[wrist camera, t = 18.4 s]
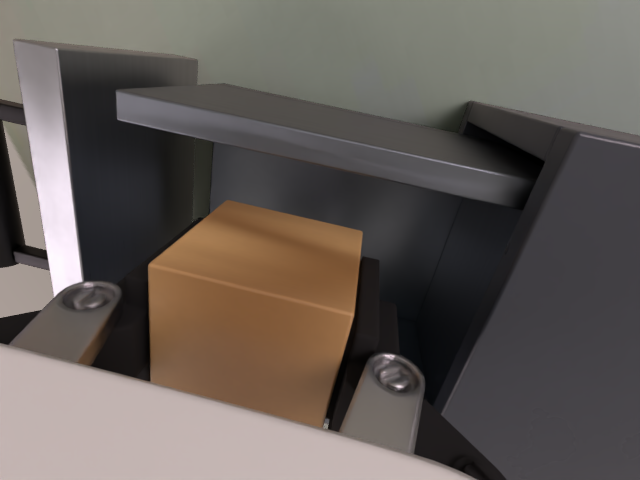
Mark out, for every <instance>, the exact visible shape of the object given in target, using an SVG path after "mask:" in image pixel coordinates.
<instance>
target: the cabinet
mask: <svg viewBox="0 0 640 480" xmlns="http://www.w3.org/2000/svg"><path fill="white" fill-rule="evenodd" d="M458 133H459V134H464V135H468V136H473V137H478V138H482V139H487V140H492V141H497V142H499V143H500V144H502V145H504V146H506V147H507V148H509V149H511V150H513V151H514V152H516V153H518V154H520V155H522V156H523V157H525V158H527V159H529V160H530V161H532V162H534V163H536V164H538V165H539V166H541V167H543V168H542V170H541V172H540V174H539V177H538V179H537V181H536V183H535V185H534V187H533V190H532V192H531V194H530V196H529V198H528V200H527V203H526V205H525V207H524V209H523V211H522V214H521V216H520V218H519V220H518V222H517V224H516V227H515V229H514V231H513V233H512V235H511V237H510V240H509V242H508V244H507V246H506V248H505V250H504V253H503V255H502V257H501V259H500V261H499V264H498V266H497V268H496V270H495V272H494V274H493V277H492V279H491V281H490V283H489V285H488V287H487V290H486V292H485V294H484V296H483V298H482V300H481V303H480V305H479V307H478V309H477V311H476V314H475V316H474V318H473V320H472V322H471V324H470V327H469V329H468V331H467V333H466V335H465V337H464V340H463V342H462V344H461V346H460V348H459V350H458V353H457V355H456V357H455V359H454V361H453V364H452V366H451V368H450V370H449V372H448V374H447V377H446V379H445V381H444V383H443V385H442V387H441V390H440V392H439V394H438V396H437V398H436V400H435V403H434V405H433V407H434V408H435V409H436V410H437V411H438V412H439V413H440V414H441V415H442V416H443V417H444V418H445V419H446V420H447V421H448V422H449V423H450V424H451V425H452V426H453V427H454V428H456V429H457V430H458V431H459V432H460V433H461V434H462V435H463V436H464V437H465V438H466V439H467V440H468V441H469V442H470V443H471V444H472V445H473V446H474V447H475V448H476V449H477V450H478V451H480V452H481V453H482V454H483V455H484V456H485V457H486V458H487V459H488V460H489V461H490V462H491V463H492V464H493V465H494V466H495V467H496V468H497V469H498V470H499V471H500V472H501V473H502V475H503V476H504V477H505V478H506V480H640V136H638V135H633V134H628V133H624V132H619V131H614V130H609V129H604V128H600V127H595V126H590V125H585V124H580V123H575V122H571V121H566V120H561V119H556V118H551V117H547V116H542V115H537V114H532V113H527V112H523V111H518V110H513V109H508V108H503V107H499V106H494V105H489V104H484V103H479V102H475V101H469V102H468V105H467V108H466V111H465V114H464V117H463V120H462V123H461V126H460V129H459V132H458Z"/></svg>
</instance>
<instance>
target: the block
mask: <svg viewBox="0 0 640 480" xmlns="http://www.w3.org/2000/svg"><path fill="white" fill-rule="evenodd" d="M362 237H363V232H362V231H360V230H356V229H351V228H347V227H343V226H338V225H334V224H330V223H326V222H321V221H317V220H313V219H308V218H304V217H300V216H295V215H291V214H287V213H282V212H278V211H274V210H269V209H265V208H261V207H257V206H252V205H248V204H244V203H239V202H235V201H231V200H226V201H225V202H224V203H222V204H221V205H220V206H219V207H218V208H216V209H215V210H214V211H213V212H211V213H210V214H209V215H208V216H207V217H205V218H204V219H203V220H202V221H200V222H199V223H198V224H197V225H195V226H194V227H193V228H192V229H191V230H189V231H188V232H187V233H186V234H184V235H183V236H182V237H181V238H180V239H178V240H177V241H176V242H175V243H173V244H172V245H171V246H170V247H168V248H167V249H166V250H165V251H164V252H162V253H161V254H160V255H159V256H157V257H156V258H155V259H154V260H153V261H151V262H150V263H149V265H148V295H149V339H150V382H153V383H156V384H160V385H164V386H168V387H172V388H175V389H179V390H183V391H187V392H191V393H194V394H198V395H202V396H206V397H209V398H213V399H217V400H221V401H224V402H228V403H232V404H236V405H239V406H243V407H247V408H251V409H254V410H258V411H262V412H265V413H269V414H273V415H276V416H280V417H284V418H287V419H291V420H295V421H299V422H302V423H306V424H310V425H313V426H317V427H321V428H323V425H324V421H325V418H326V414H327V411H328V407H329V404H330V400H331V397H332V393H333V389H334V386H335V382H336V379H337V375H338V372H339V368H340V365H341V361H342V357H343V354H344V350H345V347H346V343H347V340H348V336H349V333H350V329H351V325H352V322H353V318H354V313H355V304H356V294H357V284H358V275H359V265H360V256H361V246H362Z"/></svg>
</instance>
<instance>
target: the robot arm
mask: <svg viewBox="0 0 640 480" xmlns="http://www.w3.org/2000/svg"><path fill="white" fill-rule="evenodd" d="M202 220H203V218H198V219H197V220H196V221H194V222H193V223H192V224H191V225H189V226H188V227H187V228H186V229H184V230H183V231H182V232H180V233H179V234H178V235H177V236H175V237H174V238H173V239H172V240H170V241H169V242H168V243H167V244H165V245H164V246H163V247H161V248H160V249H159V250H158V251H156V252H155V253H154V254H153V255H151V256H150V257H149V258H148V259H146V260H145V261H144V262H142V263H141V264H140V265H139V266H137V267H136V268H135V269H134V270H132V271H131V272H130V273H128V274H127V275H126V276H125V277H124V278H123V279H122V280H121V281H119V282H118V283H117V284H114V283H112V282H108V281H103V280H90V281H83V282H79V283H75V284H72V285H70V286H68V287H66V288H64V289H63V290H62V291H60V292H59V293H58V294H57V295H56V296H55V297H54V298H53V299H52V300H51V301H50V302H49V303H48V304H47V305H46V306H45V307H44V308H43V309H42V310H40V311H34V312H29V313H24V314H19V315H14V316H8V317H3V318H0V480H506V478H505V477H504V476H503V475H502V473H501V472H500V471H499V470H498V469H497V468H496V467H495V466H494V465H493V464H492V463H491V462H490V461H489V460H488V459H487V458H486V457H485V456H484V455H483V454H482V453H481V452H480V451H478V450H477V449H476V448H475V447H474V446H473V445H472V444H471V443H470V442H469V441H468V440H467V439H466V438H465V437H464V436H463V435H462V434H461V433H460V432H459V431H458V430H457V429H456V428H454V427H453V426H452V425H451V424H450V423H449V422H448V421H447V420H446V419H445V418H444V417H443V416H442V415H441V414H440V413H439V412H438V411H437V410H436V409H435V408H434V407H433V406H432V405H430V404H429V403H428V402H427V401H426V400H425V399H424V398H423V397H424V391H425V378H424V376H423V374H422V371H421V370H420V369H419V368H418V367H417V365H416V364H414V363H413V362H412V361H411V360H409V359H408V358H406V357H404V356H402V355H400V350H399V336H398V322H397V308H396V304H394V303H390V302H386V301H382V300H379V272H380V261H379V260H377V259H373V258H369V257H364V256H363V257H362V260H360V265H359V275H358V284H357V294H356V304H355V313H354V318H353V322H352V325H351V329H350V333H349V336H348V340H347V343H346V347H345V350H344V354H343V357H342V361H341V365H340V368H339V372H338V375H337V379H336V382H335V386H334V389H333V393H332V397H331V400H330V404H329V407H328V411H327V414H326V419H329V425H328V429H324V428H321V427H317V426H313V425H310V424H306V423H302V422H299V421H295V420H291V419H287V418H284V417H280V416H276V415H273V414H269V413H265V412H262V411H258V410H254V409H251V408H247V407H243V406H239V405H236V404H232V403H228V402H224V401H221V400H217V399H213V398H209V397H206V396H202V395H198V394H194V393H191V392H187V391H183V390H179V389H175V388H172V387H168V386H164V385H160V384H156V383H153V382H150V339H149V295H148V265H149V263H150V262H151V261H153V260H154V259H155V258H156V257H157V256H159V255H160V254H161V253H162V252H164V251H165V250H166V249H167V248H168V247H170V246H171V245H172V244H173V243H175V242H176V241H177V240H178V239H180V238H181V237H182V236H183V235H184V234H186V233H187V232H188V231H189V230H191V229H192V228H193V227H194V226H195V225H197V224H198V223H199V222H200V221H202Z"/></svg>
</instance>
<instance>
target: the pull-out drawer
mask: <svg viewBox="0 0 640 480" xmlns="http://www.w3.org/2000/svg"><path fill="white" fill-rule="evenodd" d="M13 45H14V52H15V58H16V64H17V70H18V77H19V83H20V89H21V95H22V102H23V104H20V103H15V102H11V101H6V100H2V99H0V268H3V267H9V266H13V265H16V264H19V263H21V264H25V265H29V266H33V267H37V268H41V269H46V270H49V271H50V276H51V282H52V288H53V295H54V297H55V296H56V295H57V294H58V293H59V292H60V291H62V290H63V289H64V288H66V287H68V286H70V285H72V284H75V283H79V282H83V281H90V280H103V281H108V282H112V283H114V284H117V283H118V282H119V281H121V280H122V279H123V278H124V277H125V276H126V275H127V274H128V273H130V272H131V271H132V270H134V269H135V268H136V267H137V266H139V265H140V264H141V263H142V262H144V261H145V260H146V259H148V258H149V257H150V256H151V255H153V254H154V253H155V252H156V251H158V250H159V249H160V248H161V247H163V246H164V245H165V244H167V243H168V242H169V241H170V240H172V239H173V238H174V237H175V236H177V235H178V234H179V233H180V232H182V231H183V230H184V229H186V228H187V227H188V226H189V225H191V224H192V216H193V188H194V160H195V138H198V139H202V140H207V141H211V142H213V155H212V172H211V190H210V207H209V214H210V213H211V212H213V211H214V210H215V209H216V208H218V207H219V206H220V205H221V204H222V203H224V202H225V201H226V200H231V201H235V202H239V203H244V204H248V205H252V206H257V207H261V208H265V209H269V210H274V211H278V212H282V213H287V214H291V215H295V216H300V217H304V218H308V219H313V220H317V221H321V222H326V223H330V224H334V225H338V226H343V227H347V228H351V229H356V230H360V231H362V232H363V237H362V246H361V256H360V260H362V257H363V256H364V257H369V258H373V259H377V260H379V261H380V272H379V300H382V301H386V302H390V303H394V304H396V308H397V322H398V336H399V350H400V355H402V356H404V357H406V358H408V359H409V360H411V361H412V362H413V363H414V364H416V365H417V367H418V368H419V369H420V370H421V371H422V374H423V376H424V378H425V391H424V397H423V398H424V399H425V400H426V401H427V402H428V403H429V404H430V405H432V406H433V405H434V403H435V400H436V398H437V396H438V394H439V392H440V390H441V387H442V385H443V383H444V381H445V379H446V377H447V374H448V372H449V370H450V368H451V366H452V364H453V361H454V359H455V357H456V355H457V353H458V350H459V348H460V346H461V344H462V342H463V340H464V337H465V335H466V333H467V331H468V329H469V327H470V324H471V322H472V320H473V318H474V316H475V314H476V311H477V309H478V307H479V305H480V303H481V300H482V298H483V296H484V294H485V292H486V290H487V287H488V285H489V283H490V281H491V279H492V277H493V274H494V272H495V270H496V268H497V266H498V264H499V261H500V259H501V257H502V255H503V253H504V250H505V248H506V246H507V244H508V242H509V240H510V237H511V235H512V233H513V231H514V229H515V227H516V224H517V222H518V220H519V218H520V216H521V214H522V211H523V209H524V207H525V205H526V203H527V200H528V198H529V196H530V194H531V192H532V190H533V187H534V185H535V183H536V181H537V179H538V177H539V174H540V172H541V170H542V168H543V167H541V166H539V165H538V164H536V163H534V162H532V161H530V160H529V159H527V158H525V157H523V156H522V155H520V154H518V153H516V152H514V151H513V150H511V149H509V148H507V147H506V146H504V145H502V144H500V143H499V142H497V141H492V140H487V139H482V138H478V137H473V136H468V135H464V134H459V133H454V132H450V131H445V130H440V129H436V128H431V127H426V126H422V125H417V124H412V123H407V122H403V121H398V120H393V119H389V118H384V117H379V116H375V115H370V114H365V113H361V112H356V111H351V110H347V109H342V108H337V107H332V106H328V105H323V104H318V103H314V102H309V101H304V100H300V99H295V98H290V97H286V96H281V95H276V94H272V93H267V92H262V91H257V90H253V89H248V88H243V87H239V86H234V85H229V84H225V83H222V84H206V85H197V76H198V60H197V59H192V58H187V57H183V56H178V55H173V54H163V53H153V52H143V51H133V50H123V49H113V48H103V47H94V46H84V45H74V44H64V43H54V42H44V41H34V40H24V39H13ZM2 120H3V121H8V122H12V123H17V124H21V125H25V126H26V127H27V133H28V139H29V145H30V151H31V158H32V164H33V170H34V176H35V183H36V189H37V195H38V201H39V207H40V213H41V220H42V226H43V232H44V239H45V245H46V250H43V249H38V248H35V247H31V246H26V245H25V240H24V234H23V229H22V224H21V218H20V213H19V208H18V202H17V197H16V191H15V186H14V181H13V175H12V170H11V165H10V160H9V154H8V149H7V144H6V138H5V133H4V127H3V122H2ZM324 423H326V424H329V419H326V418H325V421H324Z"/></svg>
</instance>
